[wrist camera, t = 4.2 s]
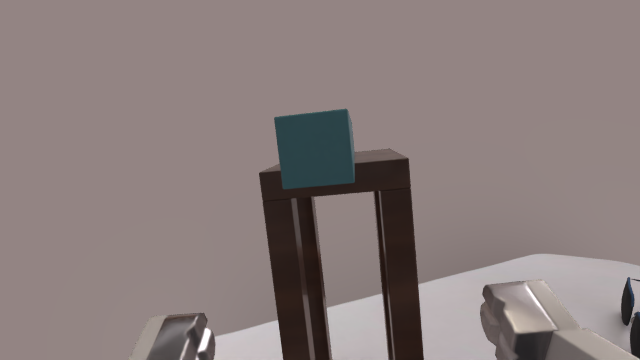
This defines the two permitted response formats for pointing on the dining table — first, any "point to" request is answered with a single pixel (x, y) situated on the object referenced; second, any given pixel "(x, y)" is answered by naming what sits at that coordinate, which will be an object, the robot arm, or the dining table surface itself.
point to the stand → (306, 268)
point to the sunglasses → (639, 322)
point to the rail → (315, 149)
